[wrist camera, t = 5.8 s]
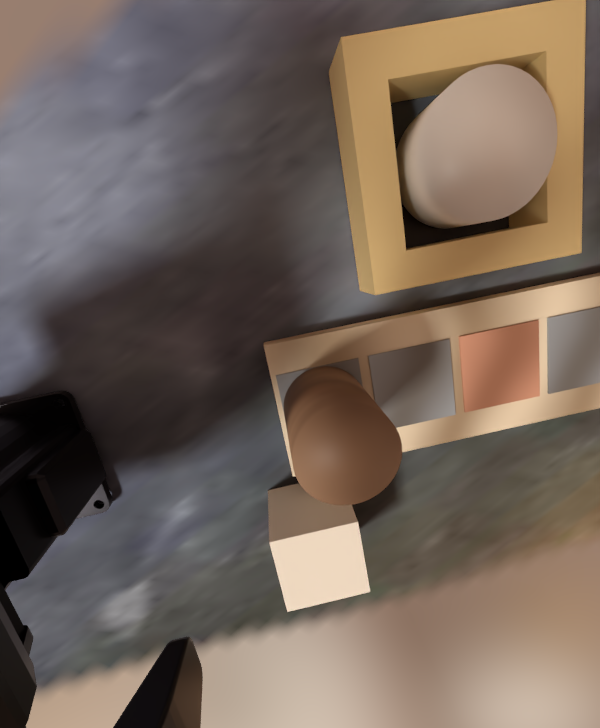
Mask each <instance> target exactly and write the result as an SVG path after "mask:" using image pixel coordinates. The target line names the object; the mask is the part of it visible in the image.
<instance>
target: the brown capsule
mask: <svg viewBox="0 0 600 728" xmlns="http://www.w3.org/2000/svg"><path fill="white" fill-rule="evenodd" d="M284 416H285V422H286V428H287V434H288V440H289V446H290V452H291V458H292V464H293V469H294V473H295V476H296V478H297V480H298V482H299V484H300V485H301V487H302V488H303V489H304V490H305V491H306V492H307V493H308V494H309V495H311V496H312V497H314V498H315V499H317V500H319V501H321V502H324V503H327V504H332V505H341V506H343V505H353V504H358V503H361V502H364V501H366V500H369V499H371V498H373V497H374V496H376V495H377V494H379V493H380V492H381V491H383V490H384V489H385V488H386V487H387V486H388V485H389V484H390V482H391V481H392V480H393V478H394V477H395V475H396V473H397V471H398V469H399V466H400V463H401V458H402V443H401V438H400V436H399V433H398V431H397V429H396V427H395V426H394V424H393V423H392V422H391V420H390V419H389V418H388V417H387V416H386V414H385V413H384V412H383V411H382V410H381V408H380V407H379V406H378V405H377V404H376V402H375V401H374V400H373V399H372V398H371V396H370V395H369V394H368V393H367V392H366V390H365V389H364V388H363V387H362V386H361V384H360V383H359V382H358V381H357V380H356V379H355V378H354V377H353V376H352V375H351V374H350V373H348V372H347V371H345V370H343V369H340V368H337V367H331V366H322V367H316V368H313V369H310V370H308V371H306V372H304V373H302V374H301V375H300V376H298V377H297V378H296V379H295V380H294V381H293V382H292V384H291V385H290V387H289V388H288V390H287V392H286V395H285V398H284Z"/></svg>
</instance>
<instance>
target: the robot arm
mask: <svg viewBox="0 0 600 728" xmlns="http://www.w3.org/2000/svg"><path fill="white" fill-rule="evenodd" d="M58 399H61V400H63V401H64V402H65V406H62V405H60V404H59V403H58ZM105 477H106V473H105V470H104V467H103V465H102V462H101V460H100V457H99V454H98V452H97V449H96V446H95V444H94V441H93V439H92V436H91V433H90V432H89V431H87V430H86V428H85V426H84V423H83V420H82V418H81V415H80V413H79V410H78V407H77V405H76V402H75V399H74V398H73V396H72V395H71V394H70V393H69V392H66V391H57V392H53V393H48V394H43V395H38V396H33V397H29V398H24V399H19V400H14V401H9V402H5V403H0V728H26V723H27V721H28V718H29V714H30V710H31V707H32V703H33V699H34V695H35V691H36V687H37V685H36V679H35V672H34V665H33V663H32V661H31V659H30V657H29V654H30V650H31V646H32V642H33V635H32V633H31V631H30V630H29V628H28V626H27V625H23V624H22V622H21V620H20V618H19V616H18V614H17V612H16V611H15V609H14V607H13V605H12V603H11V601H10V599H9V597H8V595H7V593H6V591H5V590H6V588H7V587H8V586H9V585H10V583H11V582H12V581H15V580H19V579H24V578H26V577H28V575H29V574H30V573H31V571H32V570H33V569H34V567H35V566H36V565H37V563H38V562H39V561H40V559H41V558H42V557H43V555H44V554H45V553H46V551H47V550H48V549H49V547H50V546H51V545H52V543H53V542H54V541H55V539H56V538H57V537H58V536H60V535H64V534H65V533H66V532H67V530H68V529H69V527H70V526H71V525H72V523H73V522H74V521H75V519H77V518H82V517H86V516H90V515H95V514H99V513H103V512H106V511H107V510H108V509H109V507H110V505H111V504H112V496H111V494H110V491H109V488H108V486H107V483H106V480H105ZM97 500H101V501H103V502H104V504H100V503H98V501H97ZM201 701H202V667H201V663H200V660H199V658H198V655H197V652H196V649H195V646H194V644H193V641H192V639H191V638H190V637H183V638H179V639H175V640H172V641H170V642H169V643H168V644H167V645H166V647H165V648H164V650H163V651H162V653H161V654H160V656H159V658H158V659H157V661H156V662H155V664H154V665H153V667H152V668H151V670H150V671H149V673H148V675H147V676H146V678H145V679H144V681H143V682H142V684H141V685H140V687H139V688H138V690H137V692H136V693H135V695H134V696H133V698H132V699H131V701H130V702H129V704H128V705H127V707H126V709H125V710H124V712H123V713H122V715H121V716H120V718H119V719H118V721H117V723H116V724H115V726H114V727H113V728H200V724H201Z"/></svg>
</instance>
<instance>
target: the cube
mask: <svg viewBox="0 0 600 728" xmlns="http://www.w3.org/2000/svg"><path fill="white" fill-rule="evenodd" d="M268 509H269V543H270V546H271V550H272V554H273V558H274V562H275V566H276V570H277V574H278V577H279V581H280V585H281V589H282V593H283V597H284V601H285V604H286V608H287V612H289V611H293V610H297V609H301V608H306V607H310V606H314V605H318V604H322V603H326V602H330V601H334V600H339V599H343V598H347V597H351V596H355V595H359V594H363V593H368V592H370V588H369V582H368V576H367V571H366V565H365V559H364V553H363V548H362V542H361V536H360V531H359V525H358V521H357V518H356V515H355V513H354V510H353V507H352V505H343V506H341V505H332V504H327V503H324V502H321V501H319V500H317V499H315V498H314V497H312V496H311V495H309V494H308V493H307V492H306V491H305V490H304V489H303V488H302V487H301V485H300V484H299V483H298V484H294V485H289V486H285V487H280V488H276V489H272V490H268Z"/></svg>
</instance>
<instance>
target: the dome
mask: <svg viewBox="0 0 600 728" xmlns="http://www.w3.org/2000/svg"><path fill="white" fill-rule="evenodd" d="M556 147H557V122H556V116H555V112H554V109H553V105H552V103H551V101H550V98H549V96H548V95H547V93H546V91H545V90H544V88H543V87H542V86H541V85H540V83H539V82H538V81H537V80H536V79H535V78H533V77H532V76H531V75H530V74H528V73H527V72H525V71H523V70H521V69H519V68H517V67H514V66H510V65H504V64H492V65H485V66H481V67H478V68H475V69H473V70H471V71H468V72H467V73H465V74H463V75H462V76H460V77H459V78H458V79H456V80H455V81H454V82H453V83H452V84H451V85H449V86H448V87H447V88H446V89H445V90H444V91H443V92H442V93H441V94H440V95H439V96H438V97H437V98H436V99H435V100H434V101H433V102H431V103H430V104H429V105H428V106H427V107H426V108H425V109H424V110H423V111H422V112H421V113H420V114H419V115H418V116H417V117H416V118H415V119H414V120H413V121H412V122H411V123H410V124H409V126H408V127H407V128H406V130H405V132H404V133H403V135H402V137H401V139H400V142H399V144H398V147H397V150H396V159H397V168H398V177H399V187H400V196H401V202H402V204H403V205H404V207H405V208H406V209H407V211H408V212H409V213H410V214H411V215H412V216H413V217H414V218H415V219H417V220H418V221H420V222H421V223H423V224H425V225H428V226H431V227H434V228H441V229H448V228H456V227H461V226H467V225H472V224H478V223H483V222H489V221H494V220H498V219H501V218H504V217H506V216H509V215H511V214H513V213H514V212H516V211H518V210H519V209H521V208H522V207H523V206H525V205H526V204H527V203H528V202H529V201H530V200H531V199H532V198H533V197H534V196H535V195H536V193H537V192H538V191H539V189H540V188H541V186H542V185H543V183H544V182H545V180H546V178H547V176H548V174H549V172H550V169H551V167H552V164H553V161H554V157H555V153H556Z"/></svg>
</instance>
